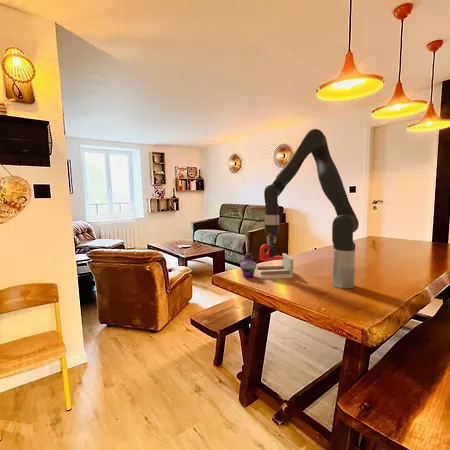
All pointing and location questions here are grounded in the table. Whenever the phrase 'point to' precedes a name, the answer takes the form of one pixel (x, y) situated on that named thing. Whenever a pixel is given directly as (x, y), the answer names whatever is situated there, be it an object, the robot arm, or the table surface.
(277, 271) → the cleat board
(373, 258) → the table surface
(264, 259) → the bracket
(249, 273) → the potion bottle
